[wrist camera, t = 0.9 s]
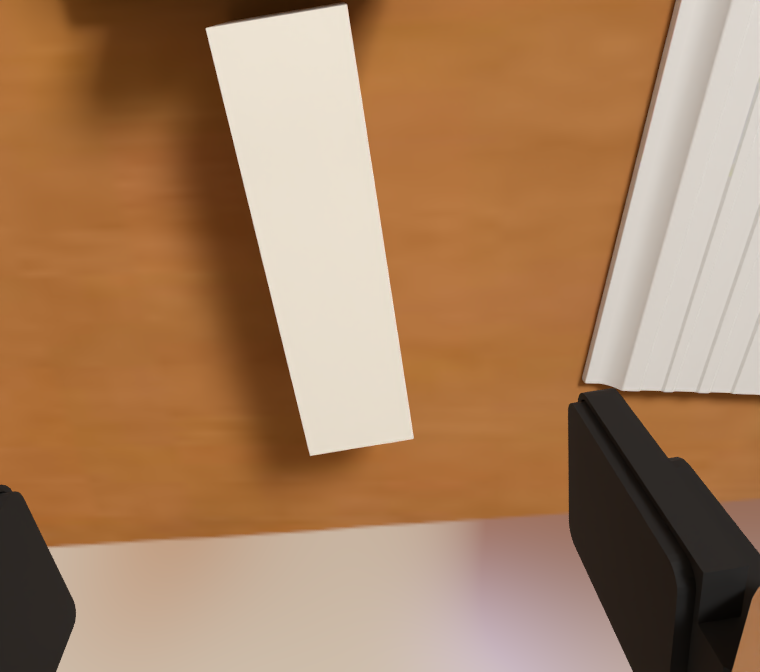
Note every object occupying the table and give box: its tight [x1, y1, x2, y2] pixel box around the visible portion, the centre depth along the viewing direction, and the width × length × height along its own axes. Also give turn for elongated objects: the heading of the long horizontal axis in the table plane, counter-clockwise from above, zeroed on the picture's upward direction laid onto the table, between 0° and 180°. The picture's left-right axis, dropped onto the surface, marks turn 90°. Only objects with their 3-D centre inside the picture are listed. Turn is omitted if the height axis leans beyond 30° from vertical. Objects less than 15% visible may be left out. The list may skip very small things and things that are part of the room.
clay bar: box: [206, 2, 414, 456], centre depth 24 cm, size 15×4×5 cm, turn 8°
